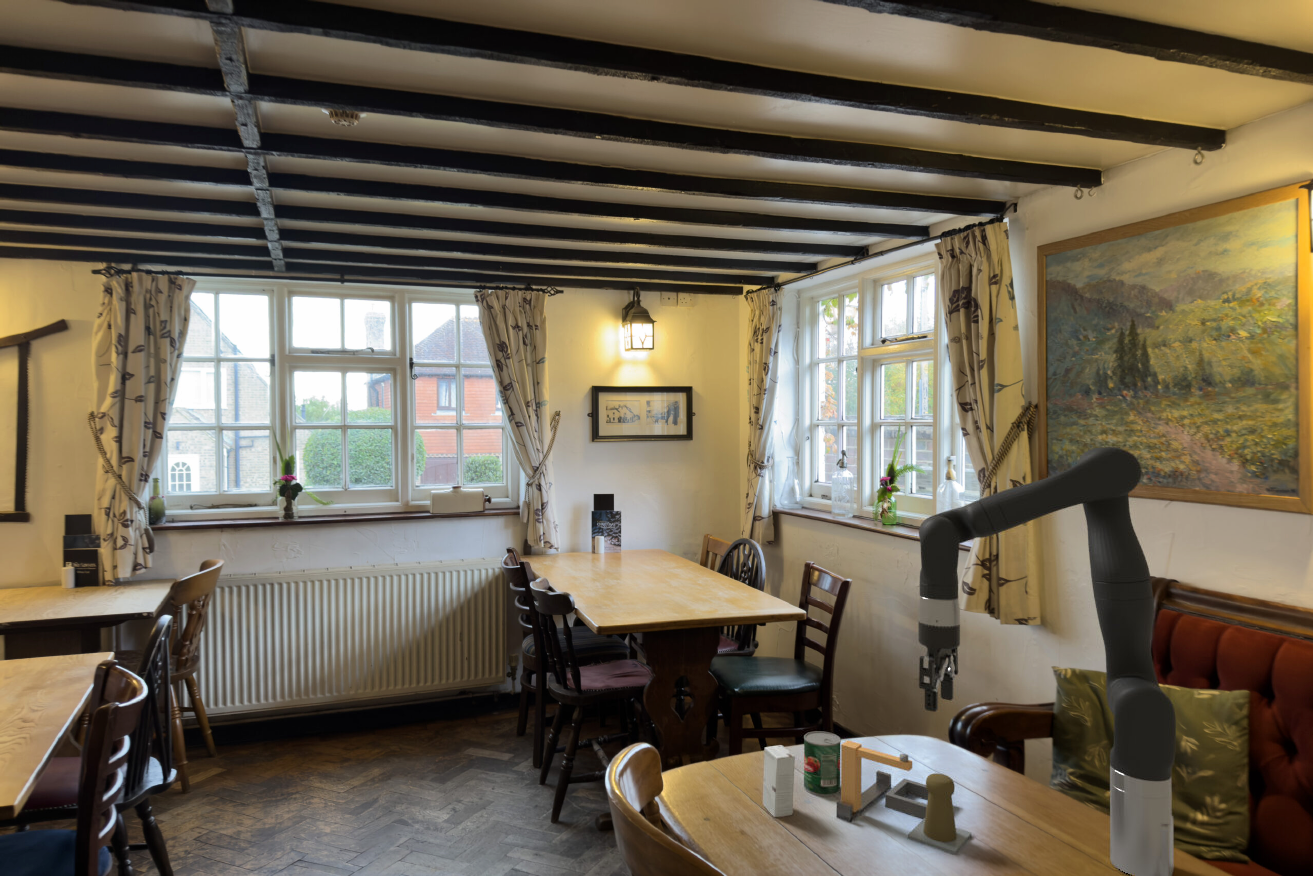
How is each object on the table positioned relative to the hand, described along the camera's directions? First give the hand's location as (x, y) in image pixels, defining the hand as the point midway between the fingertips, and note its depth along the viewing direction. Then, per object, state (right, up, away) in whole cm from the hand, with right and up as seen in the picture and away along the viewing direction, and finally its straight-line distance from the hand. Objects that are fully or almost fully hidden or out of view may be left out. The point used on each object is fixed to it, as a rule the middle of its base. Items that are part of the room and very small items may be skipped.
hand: (939, 704), depth 144 cm
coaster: (0, -25, 0) cm, 25 cm away
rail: (-10, -25, +14) cm, 31 cm away
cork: (0, -25, 0) cm, 25 cm away
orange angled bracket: (-11, -24, +5) cm, 27 cm away
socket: (0, -26, +12) cm, 28 cm away
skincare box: (-29, -25, +10) cm, 40 cm away
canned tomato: (-18, -26, +20) cm, 37 cm away
